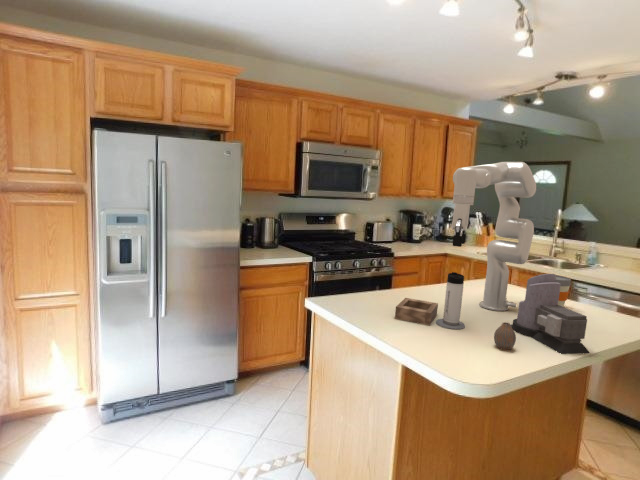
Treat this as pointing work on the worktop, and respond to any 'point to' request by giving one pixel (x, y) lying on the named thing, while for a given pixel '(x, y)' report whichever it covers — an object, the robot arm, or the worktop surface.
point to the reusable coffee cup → (563, 289)
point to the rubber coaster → (457, 327)
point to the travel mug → (453, 299)
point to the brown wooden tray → (416, 311)
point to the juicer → (550, 317)
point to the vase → (505, 336)
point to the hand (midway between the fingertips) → (458, 244)
